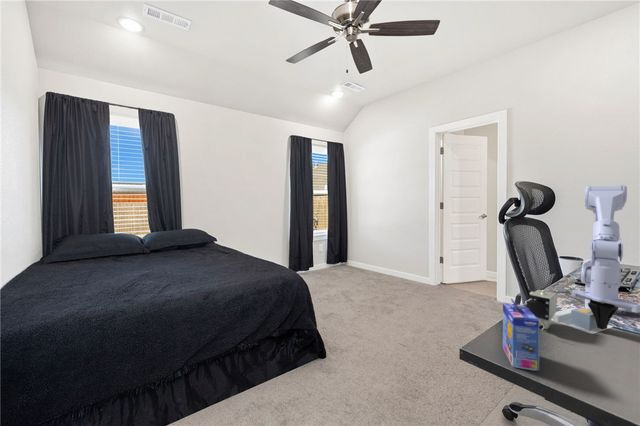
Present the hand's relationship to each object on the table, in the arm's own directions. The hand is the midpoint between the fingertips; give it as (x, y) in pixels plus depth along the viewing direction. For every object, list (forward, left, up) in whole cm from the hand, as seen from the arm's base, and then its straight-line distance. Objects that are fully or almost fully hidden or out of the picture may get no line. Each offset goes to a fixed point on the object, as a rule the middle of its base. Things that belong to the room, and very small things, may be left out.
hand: (602, 328), depth 84 cm
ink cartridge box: (+35, -1, -2) cm, 35 cm away
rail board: (-1, -6, -2) cm, 6 cm away
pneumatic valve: (+12, -9, -2) cm, 16 cm away
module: (0, -4, -1) cm, 4 cm away
